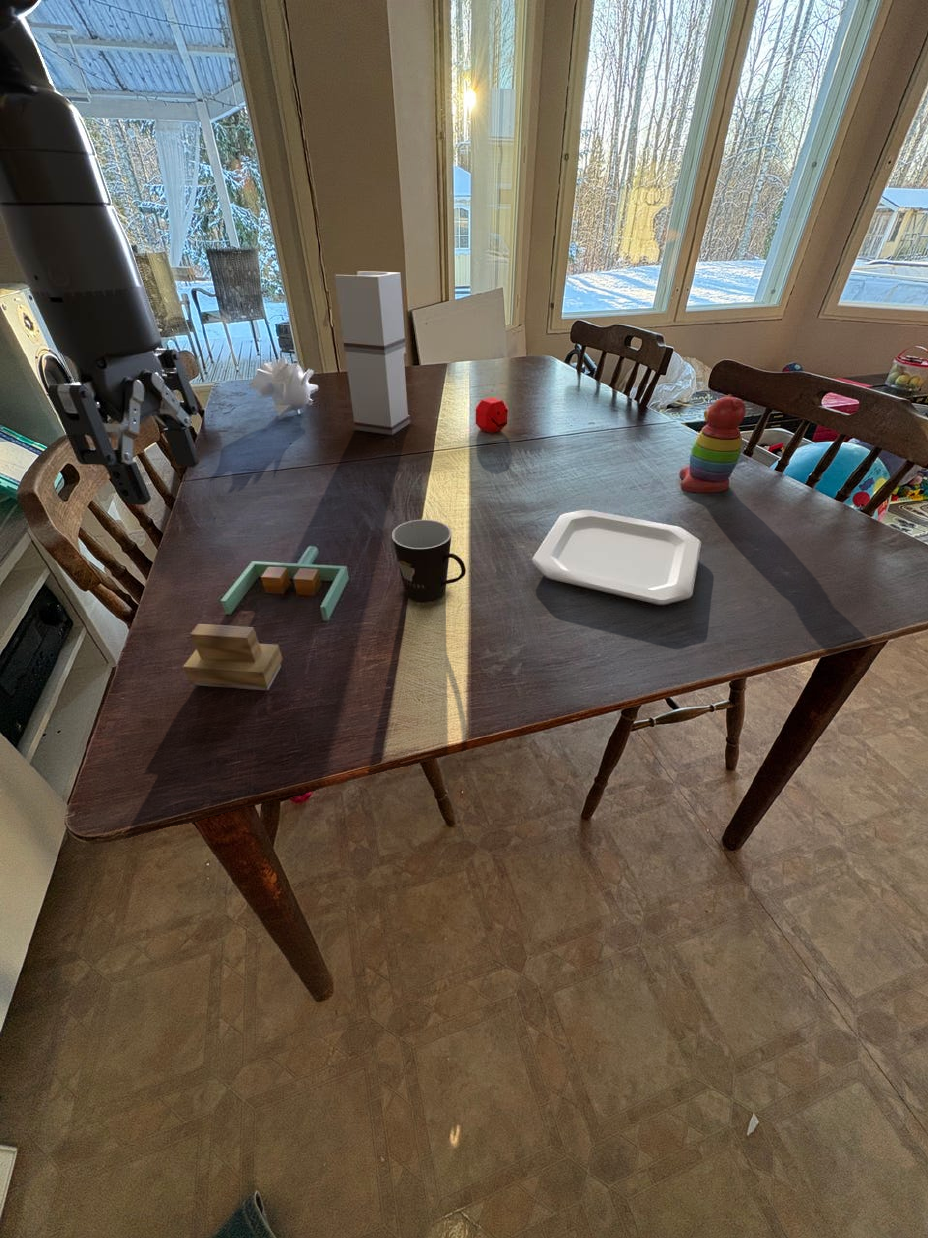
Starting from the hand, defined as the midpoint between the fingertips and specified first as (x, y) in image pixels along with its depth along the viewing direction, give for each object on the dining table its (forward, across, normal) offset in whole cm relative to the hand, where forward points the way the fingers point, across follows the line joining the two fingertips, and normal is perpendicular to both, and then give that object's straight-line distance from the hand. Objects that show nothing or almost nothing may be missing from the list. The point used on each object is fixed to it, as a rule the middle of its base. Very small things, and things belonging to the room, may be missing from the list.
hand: (165, 483), depth 49 cm
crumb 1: (+26, -19, -3) cm, 32 cm away
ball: (+26, -97, +26) cm, 104 cm away
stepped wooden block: (+26, 0, 0) cm, 26 cm away
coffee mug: (+26, -20, +21) cm, 39 cm away
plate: (+26, -33, +51) cm, 66 cm away
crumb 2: (+26, -19, +2) cm, 32 cm away
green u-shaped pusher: (+26, -20, 0) cm, 33 cm away
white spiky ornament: (+26, -107, -34) cm, 115 cm away
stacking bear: (+26, -66, +74) cm, 103 cm away
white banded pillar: (+26, -97, -4) cm, 101 cm away
